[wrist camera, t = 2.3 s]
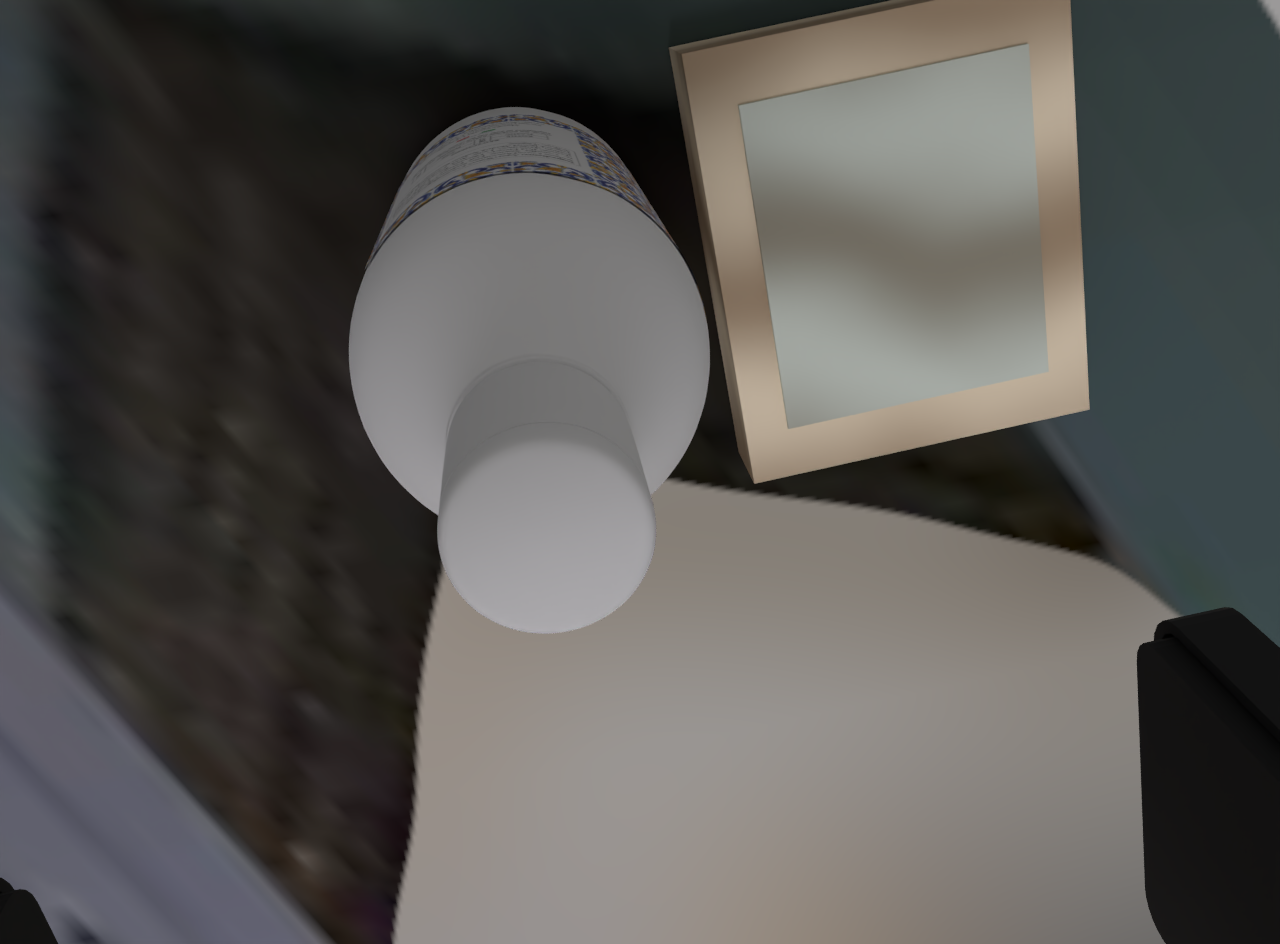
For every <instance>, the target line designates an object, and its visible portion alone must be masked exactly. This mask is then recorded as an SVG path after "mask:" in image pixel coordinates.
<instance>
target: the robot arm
mask: <svg viewBox="0 0 1280 944" xmlns="http://www.w3.org/2000/svg"><path fill="white" fill-rule="evenodd" d="M1137 678H1138V706H1139V731H1140V732H1139V733H1140V758H1141V759H1140V760H1141V787H1142V813H1143V814H1142V816H1143V842H1144V869H1145V891H1146V898H1147V902H1148V907H1149V910H1150V913H1151V915H1152V919H1153V921H1154V923H1155V926H1156V928H1157V930H1158V932H1159V933H1160V935H1161V937H1162V939H1163V940H1164V942H1165V943H1166V944H1280V648H1279V647H1278V646H1277V645H1276V644H1275V643H1274V642H1272V641H1271V640H1270V639H1269V638H1268V637H1267V636H1266V635H1265V634H1264V633H1262V632H1261V631H1260V630H1259V629H1258V628H1257V627H1256V626H1255V625H1253V624H1252V623H1251V622H1250V621H1249V620H1248V619H1247V618H1246V617H1245V616H1243V615H1242V614H1241V613H1240V612H1238V611H1236V610H1235V609H1233V608H1227V607H1224V608H1219V609H1215V610H1210V611H1206V612H1201V613H1197V614H1192V615H1187V616H1183V617H1178V618H1174V619H1170V620H1165V621H1162V622H1161V623H1159V624H1158V625H1157V628H1156V631H1155V633H1154V641H1151V642H1147V643H1143V644H1142V645H1140V647H1139V649H1138V652H1137ZM0 944H58V942H57V940H56V938H55V936H54V934H53V932H52V930H51V928H50V926H49V924H48V922H47V920H46V918H45V916H44V914H43V912H42V910H41V908H40V906H39V904H38V902H37V901H36V899H35V898H34V896H33V895H32V894H31V893H30V892H28V891H27V890H21V889H19V890H14V889H13V887H12V886H11V885H10V883H8V882H7V881H5V880H4V879H3V878H0Z"/></svg>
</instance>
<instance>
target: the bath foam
mask: <svg viewBox="0 0 1280 944" xmlns="http://www.w3.org/2000/svg"><path fill="white" fill-rule="evenodd" d="M369 262H370V263H369ZM368 263H369V265H368ZM368 263H367V265H368V268H367V270H366V272H365V275H364V278H363V280H362V283H361V286H360V289H359V292H358V295H357V298H356V302H355V306H354V310H353V315H352V320H351V327H350V337H349V366H350V375H351V383H352V388H353V393H354V398H355V401H356V405H357V408H358V412H359V415H360V418H361V421H362V423H363V426H364V428H365V430H366V433H367V435H368V437H369V439H370V441H371V443H372V445H373V446H374V448H375V450H376V452H377V453H378V455H379V457H380V458H381V460H382V461H383V463H384V464H385V466H386V467H387V468H388V470H389V471H390V472H391V474H392V475H393V476H394V477H395V478H396V479H397V481H398V482H399V483H400V484H401V485H402V486H403V487H404V488H405V489H406V490H407V491H408V492H409V493H410V494H411V495H412V496H414V497H415V498H416V499H417V500H418V501H419V502H421V503H422V504H423V505H424V506H426V507H427V508H428V509H430V510H431V511H433V512H434V513H436V514H437V515H438V526H437V535H438V546H439V552H440V556H441V560H442V563H443V566H444V569H445V571H446V574H447V576H448V578H449V580H450V581H451V583H452V585H453V586H454V587H455V589H456V590H457V592H458V593H459V594H460V595H461V597H462V598H463V599H464V600H465V601H466V602H467V603H468V604H469V605H470V606H471V607H472V608H474V609H475V610H476V611H477V612H479V613H480V614H481V615H483V616H484V617H486V618H488V619H490V620H492V621H493V622H496V623H498V624H500V625H502V626H505V627H508V628H511V629H515V630H519V631H523V632H530V633H544V634H547V633H560V632H567V631H572V630H576V629H579V628H582V627H585V626H588V625H590V624H593V623H595V622H597V621H599V620H601V619H603V618H605V617H606V616H608V615H609V614H611V613H612V612H614V611H615V610H616V609H618V608H619V607H620V606H621V605H622V604H623V603H624V602H625V601H626V600H627V599H628V598H629V597H630V596H631V595H632V594H633V593H634V592H635V590H636V589H637V588H638V586H639V585H640V583H641V581H642V580H643V578H644V576H645V574H646V572H647V570H648V568H649V565H650V563H651V560H652V557H653V553H654V548H655V541H656V518H655V512H654V506H653V502H652V498H651V495H652V493H654V492H655V491H656V490H657V489H658V488H659V487H660V486H661V485H662V483H663V482H664V481H665V480H666V479H667V478H668V476H669V475H670V474H671V472H672V471H673V470H674V468H675V467H676V465H677V464H678V462H679V461H680V459H681V458H682V456H683V455H684V453H685V451H686V450H687V448H688V446H689V444H690V442H691V440H692V438H693V435H694V433H695V431H696V428H697V425H698V423H699V420H700V417H701V413H702V410H703V407H704V403H705V399H706V393H707V387H708V379H709V369H710V348H709V334H708V327H707V320H706V314H705V309H704V304H703V301H702V297H701V294H700V291H699V288H698V285H697V283H696V280H695V278H694V276H693V273H692V271H691V269H690V267H689V265H688V264H687V262H686V260H685V258H684V257H683V255H682V253H681V252H680V250H679V249H678V247H677V246H676V244H675V242H674V241H673V239H672V238H671V236H670V234H669V233H668V231H667V230H666V228H665V226H664V225H663V223H662V222H661V220H660V219H659V217H658V215H657V214H656V212H655V211H654V209H653V207H652V206H651V204H650V203H649V201H648V200H647V198H646V196H645V195H644V193H643V192H642V190H641V188H640V187H639V185H638V184H637V182H636V181H635V179H634V177H633V176H632V174H631V173H630V171H629V170H628V169H627V167H626V166H625V165H624V163H623V162H622V160H621V159H620V158H619V156H618V155H617V154H616V153H615V152H614V151H613V149H612V148H611V147H610V146H609V145H608V144H607V143H606V142H605V141H604V140H603V139H601V138H600V137H599V136H598V135H596V134H595V133H594V132H593V131H591V130H590V129H588V128H587V127H585V126H583V125H582V124H580V123H578V122H576V121H574V120H572V119H570V118H567V117H565V116H562V115H559V114H555V113H551V112H547V111H543V110H538V109H533V108H524V107H506V108H498V109H492V110H488V111H484V112H481V113H477V114H475V115H472V116H469V117H467V118H465V119H463V120H461V121H459V122H457V123H455V124H453V125H452V126H450V127H449V128H447V129H446V130H444V131H443V132H442V133H440V134H439V135H438V136H437V137H436V138H434V139H433V140H432V141H431V142H430V143H429V144H428V145H427V146H426V147H425V148H424V150H423V151H422V152H421V153H420V154H419V156H418V157H417V158H416V160H415V161H414V163H413V164H412V166H411V168H410V169H409V171H408V173H407V175H406V177H405V179H404V180H403V182H402V184H401V185H400V187H399V189H398V191H397V194H396V196H395V198H394V201H393V203H392V205H391V208H390V210H389V213H388V215H387V217H386V220H385V222H384V224H383V227H382V229H381V232H380V234H379V236H378V239H377V241H376V244H375V246H374V248H373V251H372V253H371V255H370V258H369V260H368ZM367 265H366V267H367ZM366 267H365V268H366Z"/></svg>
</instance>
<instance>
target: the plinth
mask: <svg viewBox="0 0 1280 944" xmlns="http://www.w3.org/2000/svg"><path fill="white" fill-rule="evenodd" d="M669 52H670V58H671V64H672V69H673V75H674V81H675V87H676V93H677V98H678V104H679V110H680V116H681V121H682V127H683V133H684V139H685V145H686V150H687V156H688V162H689V168H690V173H691V179H692V185H693V191H694V197H695V202H696V208H697V214H698V220H699V225H700V231H701V237H702V243H703V249H704V254H705V260H706V266H707V272H708V277H709V283H710V289H711V295H712V301H713V306H714V312H715V318H716V324H717V329H718V335H719V341H720V347H721V353H722V358H723V364H724V370H725V376H726V381H727V387H728V393H729V399H730V405H731V410H732V416H733V422H734V428H735V433H736V439H737V445H738V451H739V453H740V455H741V458H742V460H743V462H744V464H745V466H746V468H747V470H748V472H749V474H750V476H751V478H752V480H753V482H754V484H755V483H760V482H764V481H769V480H773V479H778V478H782V477H787V476H791V475H796V474H800V473H805V472H809V471H814V470H818V469H823V468H827V467H832V466H836V465H841V464H845V463H850V462H854V461H859V460H863V459H868V458H872V457H877V456H881V455H886V454H890V453H895V452H899V451H904V450H908V449H913V448H917V447H922V446H926V445H931V444H935V443H940V442H945V441H949V440H954V439H958V438H963V437H967V436H972V435H976V434H981V433H985V432H990V431H994V430H999V429H1003V428H1008V427H1012V426H1017V425H1021V424H1026V423H1030V422H1035V421H1039V420H1044V419H1048V418H1053V417H1057V416H1062V415H1066V414H1071V413H1075V412H1080V411H1084V410H1089V388H1088V367H1087V346H1086V325H1085V303H1084V282H1083V261H1082V240H1081V219H1080V197H1079V176H1078V155H1077V134H1076V112H1075V91H1074V70H1073V49H1072V27H1071V6H1070V0H890V1H885V2H880V3H876V4H871V5H866V6H861V7H857V8H852V9H847V10H843V11H838V12H833V13H829V14H824V15H819V16H814V17H810V18H805V19H800V20H796V21H791V22H786V23H781V24H777V25H772V26H767V27H763V28H758V29H753V30H749V31H744V32H739V33H734V34H730V35H725V36H720V37H716V38H711V39H706V40H701V41H697V42H692V43H687V44H683V45H678V46H673V47H669Z"/></svg>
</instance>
